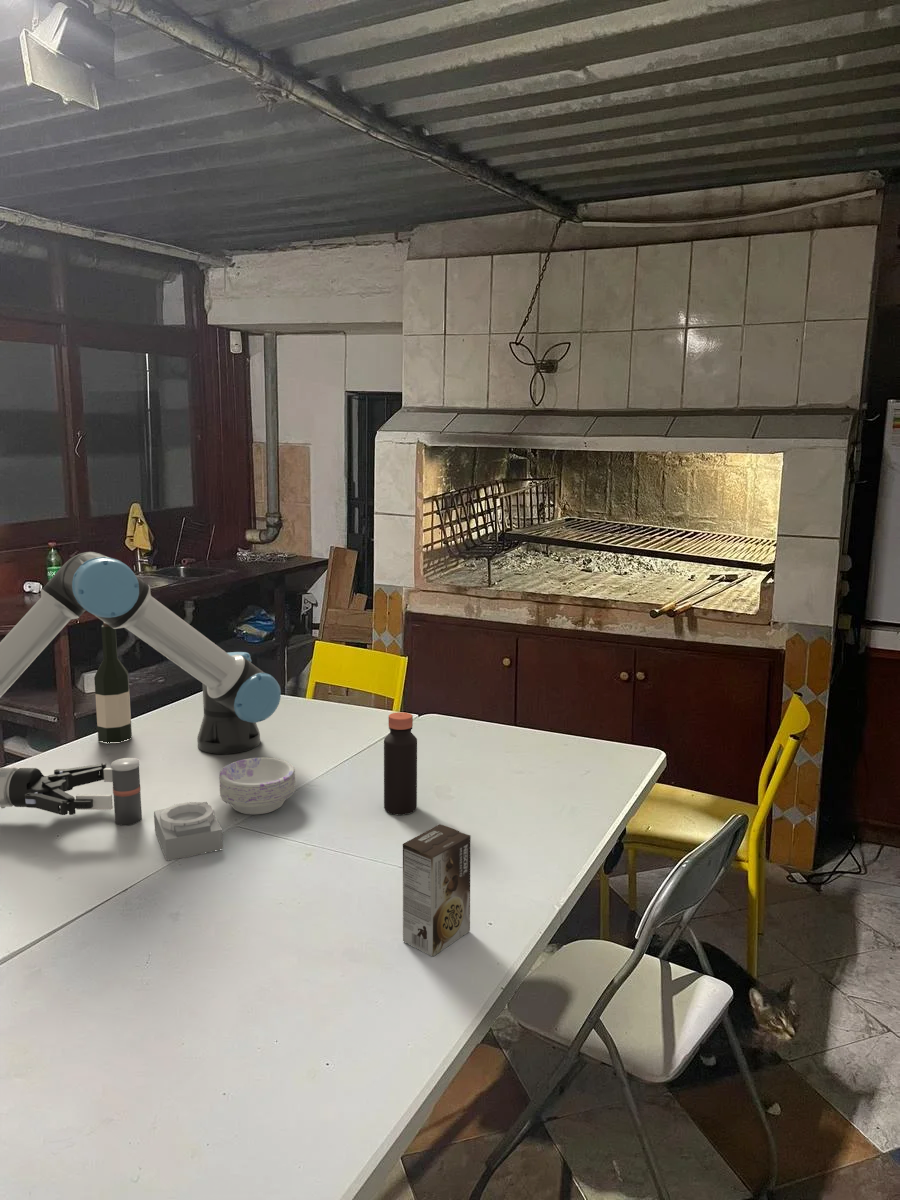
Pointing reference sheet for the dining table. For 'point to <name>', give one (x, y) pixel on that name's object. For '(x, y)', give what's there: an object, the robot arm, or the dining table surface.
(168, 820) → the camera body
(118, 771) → the grey capped canister
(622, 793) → the dining table surface
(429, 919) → the coffee box
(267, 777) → the paper bowls
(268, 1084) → the dining table surface
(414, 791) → the vinegar
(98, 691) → the wine bottle
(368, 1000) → the dining table surface
